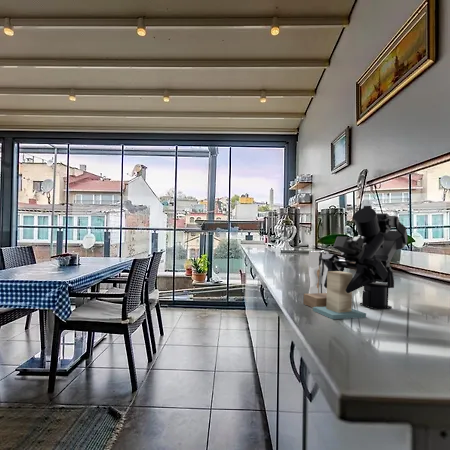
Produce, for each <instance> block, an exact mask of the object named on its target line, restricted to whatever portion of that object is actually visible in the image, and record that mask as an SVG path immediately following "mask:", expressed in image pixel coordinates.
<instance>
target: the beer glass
mask: <svg viewBox="0 0 450 450" xmlns="http://www.w3.org/2000/svg"><path fill="white" fill-rule="evenodd" d="M324 254H330V253H329V251H327V250H309V251H308V259H307V268H308V271H307V272H308V276H309V290H308V294H312V293H327V288H325V287H324V283H325V279H326V275H327V271H328V268H327V267H326V265H325V264H324V263H323V261H322V260H321V258H322V257H323V256H324Z"/></svg>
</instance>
